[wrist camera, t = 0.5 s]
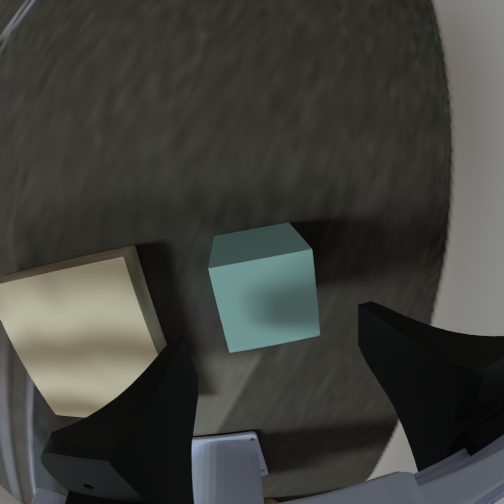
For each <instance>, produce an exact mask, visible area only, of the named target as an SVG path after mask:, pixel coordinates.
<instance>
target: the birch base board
mask: <svg viewBox="0 0 504 504" xmlns="http://www.w3.org/2000/svg"><path fill="white" fill-rule="evenodd" d="M0 319H1V321H2V324H3V326H4V328H5V330H6V332H7V334H8V336H9V338H10V340H11V342H12V344H13V346H14V348H15V350H16V352H17V354H18V355H19V357H20V359H21V361H22V363H23V364H24V366H25V368H26V370H27V371H28V373H29V375H30V376H31V378H32V380H33V381H34V383H35V384H36V386H37V388H38V389H39V391H40V392H41V394H42V395H43V397H44V398H45V400H46V401H47V403H48V404H49V406H50V407H51V409H52V410H53V411H54V413H55V414H56V415H64V416H76V417H88V416H89V415H91V414H93V413H94V412H96V411H98V410H99V409H101V408H102V407H103V406H105V405H106V404H108V403H109V402H111V401H112V400H113V399H115V398H116V397H117V396H118V395H120V394H121V393H122V392H123V391H124V390H126V389H127V388H128V387H129V386H130V385H131V384H132V383H133V382H134V381H135V380H136V379H137V378H138V377H139V376H140V375H141V374H142V373H143V372H144V371H145V370H146V369H147V367H148V366H149V365H150V364H151V363H152V362H153V360H154V359H155V358H156V357H157V356H158V355H159V353H160V352H161V351H162V350H163V349H164V347H165V346H166V345H167V342H166V340H165V337H164V334H163V331H162V329H161V326H160V323H159V320H158V317H157V314H156V312H155V309H154V306H153V303H152V300H151V297H150V293H149V290H148V287H147V284H146V281H145V278H144V274H143V271H142V268H141V264H140V261H139V257H138V254H137V250H136V247H135V245H132V246H127V247H123V248H118V249H114V250H109V251H105V252H100V253H96V254H91V255H87V256H82V257H78V258H74V259H69V260H65V261H61V262H57V263H53V264H48V265H44V266H40V267H36V268H32V269H28V270H24V271H20V272H16V273H12V274H8V275H4V276H2V277H1V278H0Z"/></svg>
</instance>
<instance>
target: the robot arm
mask: <svg viewBox="0 0 504 504" xmlns="http://www.w3.org/2000/svg"><path fill="white" fill-rule="evenodd" d="M358 345H359V347H360V349H361V352H362V354H363V356H364V358H365V360H366V363H367V364H368V366H369V367H370V369H371V371H372V372H373V374H374V375H375V377H376V378H377V380H378V382H379V383H380V385H381V386H382V388H383V389H384V391H385V392H386V394H387V396H388V397H389V399H390V401H391V402H392V404H393V406H394V408H395V411H396V413H397V415H398V417H399V419H400V422H401V424H402V426H403V429H404V431H405V434H406V436H407V439H408V442H409V445H410V447H411V450H412V453H413V456H414V459H415V463H416V466H417V469H418V472H417V473H415V474H412V473H408V472H395V473H391V474H387V475H384V476H380V477H377V478H374V479H371V480H368V481H365V482H362V483H359V484H356V485H353V486H349V487H346V488H342V489H339V490H335V491H331V492H328V493H324V494H319V495H315V496H311V497H306V498H301V499H296V500H291V501H285V502H281V503H277V504H495V503H496V502H497V501H499V500H500V499H501V498H503V497H504V336H478V335H468V334H463V333H456V332H452V331H447V330H444V329H440V328H436V327H433V326H430V325H427V324H424V323H421V322H419V321H416V320H414V319H411V318H409V317H406V316H404V315H402V314H399V313H397V312H395V311H393V310H391V309H388V308H386V307H384V306H382V305H380V304H377V303H375V302H372V301H371V302H367V303H363V304H359V305H358ZM197 400H198V375H197V373H196V370H195V367H194V365H193V362H192V359H191V356H190V353H189V351H188V348H187V345H186V342H185V339H181V340H173V341H170V342H169V343H168V344H167V345H166V346H165V347H164V349H163V350H162V351H161V352H160V353H159V355H158V356H157V357H156V358H155V359H154V360H153V362H152V363H151V364H150V365H149V366H148V367H147V369H146V370H145V371H144V372H143V373H142V374H141V375H140V376H139V377H138V378H137V379H136V380H135V381H134V382H133V383H132V384H131V385H130V386H129V387H128V388H127V389H126V390H124V391H123V392H122V393H121V394H120V395H118V396H117V397H116V398H115V399H113V400H112V401H111V402H109V403H108V404H106V405H105V406H103V407H102V408H101V409H99V410H98V411H96V412H94V413H93V414H91V415H89V416H88V417H86V418H84V419H82V420H80V421H78V422H76V423H74V424H72V425H69V426H67V427H64V428H62V429H59V430H57V431H54V432H52V433H51V436H50V438H49V440H48V442H47V444H46V446H45V448H44V450H43V452H42V455H41V462H42V464H43V466H44V467H45V469H46V470H47V471H48V472H49V473H50V474H51V475H52V476H53V477H54V478H55V479H56V480H57V481H58V482H59V483H60V484H61V485H62V486H64V487H65V488H66V489H67V490H68V491H69V494H68V497H67V498H66V497H65V496H63V495H61V494H58V493H55V492H51V491H48V490H45V489H41V488H37V490H36V492H35V495H34V498H33V500H32V503H31V504H264V498H263V490H262V481H261V476H265V475H267V474H268V470H267V467H266V464H265V460H264V457H263V454H262V450H261V447H260V444H259V441H258V437H257V434H256V432H253V431H250V432H243V433H236V434H227V435H218V436H207V437H194V438H193V430H194V423H195V415H196V408H197Z"/></svg>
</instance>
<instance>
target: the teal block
mask: <svg viewBox="0 0 504 504" xmlns="http://www.w3.org/2000/svg"><path fill="white" fill-rule="evenodd" d="M208 269H209V273H210V277H211V282H212V286H213V290H214V294H215V298H216V302H217V306H218V310H219V314H220V318H221V322H222V326H223V329H224V333H225V337H226V341H227V345H228V348H229V352H230V353H231V352H237V351H243V350H249V349H255V348H260V347H266V346H271V345H276V344H281V343H286V342H291V341H296V340H300V339H305V338H309V337H314V336H318V335H320V329H319V316H318V303H317V292H316V281H315V271H314V261H313V252H312V248H311V247H310V246H309V245H308V244H307V243H306V241H305V240H304V239H303V238H302V237H301V236H300V234H299V233H298V232H297V231H296V230H295V229H294V228H293V226H292V225H291V224H290V223H283V224H278V225H272V226H266V227H261V228H255V229H250V230H245V231H239V232H234V233H229V234H223V235H218V236H214V240H213V246H212V251H211V257H210V262H209V268H208Z"/></svg>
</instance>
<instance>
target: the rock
mask: <svg viewBox="0 0 504 504" xmlns="http://www.w3.org/2000/svg"><path fill="white" fill-rule="evenodd" d="M277 503H280V502H277V501H276V500H274V499H264V504H277Z"/></svg>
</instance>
